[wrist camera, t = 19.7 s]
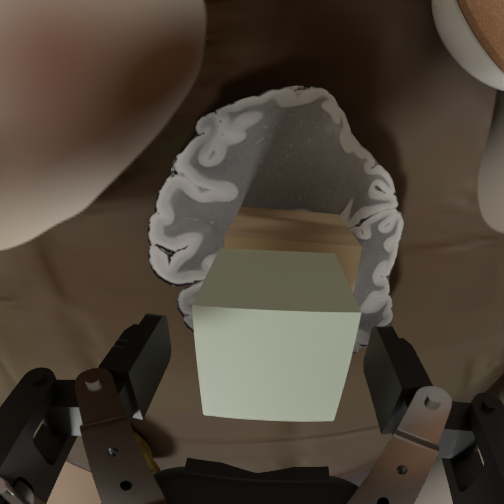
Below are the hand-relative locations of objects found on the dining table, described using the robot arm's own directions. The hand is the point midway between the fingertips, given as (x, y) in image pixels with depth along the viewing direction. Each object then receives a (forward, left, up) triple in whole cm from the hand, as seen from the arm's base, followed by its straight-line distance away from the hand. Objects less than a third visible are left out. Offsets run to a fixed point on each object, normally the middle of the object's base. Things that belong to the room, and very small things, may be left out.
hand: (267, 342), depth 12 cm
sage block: (0, 0, -3) cm, 3 cm away
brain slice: (0, 0, -12) cm, 12 cm away
